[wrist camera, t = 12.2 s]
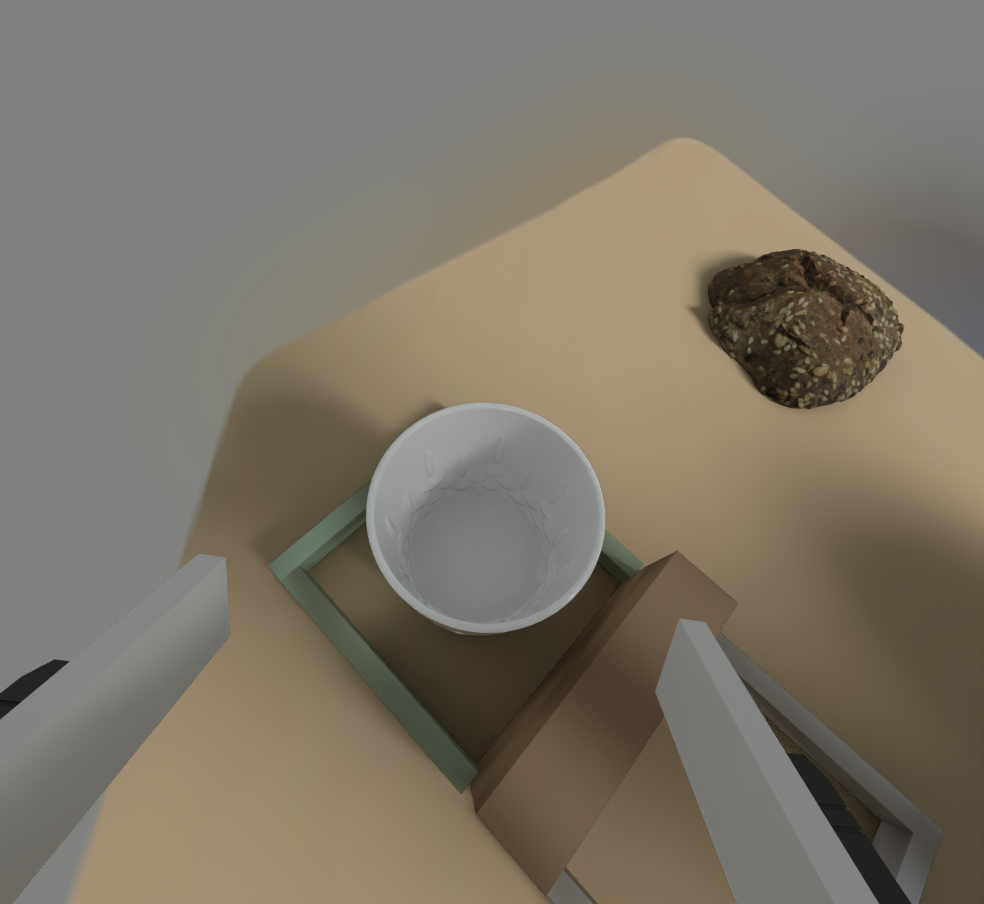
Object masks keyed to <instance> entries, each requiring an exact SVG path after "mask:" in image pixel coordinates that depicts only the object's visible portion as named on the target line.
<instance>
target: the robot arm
mask: <svg viewBox="0 0 984 904" xmlns="http://www.w3.org/2000/svg"><path fill="white" fill-rule="evenodd" d="M229 636H230V624H229V607H228V589H227V572H226V557H219V556H212V555H205V554H198V555H196V556H195V557H194V558H193V559H192V560H191V561H189V562H188V563H187V564H186V565H185V566H183V567H182V568H181V569H180V570H179V571H177V572H176V573H175V574H174V575H173V576H171V577H170V578H169V579H168V580H167V581H165V582H164V583H163V584H162V585H161V586H159V587H158V588H157V589H156V590H155V591H154V592H152V593H151V594H150V595H149V596H147V597H146V598H145V599H144V600H143V601H142V602H140V603H139V604H138V605H137V606H136V607H135V608H133V609H132V610H131V611H130V612H128V613H127V614H126V615H125V616H124V617H122V618H121V619H120V620H119V621H118V622H116V623H115V624H114V625H113V626H112V627H110V628H109V629H108V630H107V631H106V632H105V633H103V634H102V635H101V636H100V637H99V638H97V639H96V640H95V641H94V642H93V643H91V644H90V645H89V646H88V647H87V648H85V649H84V650H83V651H82V652H81V653H79V654H78V655H77V656H76V657H75V658H73V659H72V660H71V661H70V662H69V661H62V660H55V659H54V660H53V661H51V662H49V663H47V664H45V665H43V666H41V667H39V668H37V669H35V670H33V671H32V672H30V673H28V674H26V675H24V676H22V677H21V678H19V679H18V680H17V681H15V682H14V683H13V684H12V685H10V686H9V687H8V688H6V689H5V690H4V691H3V692H1V693H0V904H12V903H13V902H14V901H15V900H16V899H17V897H18V896H19V895H20V894H21V893H22V891H23V890H24V889H25V888H26V886H27V885H28V884H29V883H30V881H31V880H32V879H33V878H34V876H35V875H36V874H37V873H38V872H39V870H40V869H41V868H42V867H43V865H44V864H45V863H46V862H47V860H48V859H49V858H50V857H51V856H52V854H53V853H54V852H55V850H56V849H57V848H58V847H59V846H60V845H61V843H62V842H63V841H64V840H65V838H66V837H67V836H68V835H69V833H70V832H71V831H72V829H74V827H75V826H76V824H78V822H79V821H80V820H81V819H82V817H83V816H84V815H85V814H86V812H87V811H88V810H89V808H91V806H92V805H93V804H94V803H95V801H96V800H97V799H98V798H99V796H100V795H101V794H102V793H103V792H104V790H105V789H106V788H107V787H108V785H109V784H110V783H111V782H112V780H113V779H114V778H115V777H116V776H117V774H118V773H119V772H120V771H121V769H122V768H123V767H124V766H125V764H126V763H127V762H128V761H129V760H130V758H131V757H132V756H133V755H134V753H135V752H136V751H137V750H138V748H139V747H140V746H141V745H142V744H143V742H144V741H145V740H146V739H147V737H148V736H149V735H150V734H151V732H152V731H153V730H154V729H155V728H156V726H157V725H158V724H159V723H160V721H161V720H162V719H163V718H164V716H165V715H166V714H167V713H168V712H169V710H170V709H171V708H172V707H173V705H174V704H175V703H176V702H177V700H178V699H179V698H180V697H181V696H182V694H183V693H184V692H185V691H186V689H187V688H188V687H189V686H190V684H191V683H192V682H193V681H194V680H195V678H196V677H197V676H198V675H199V673H200V672H201V671H202V670H203V668H204V667H205V666H206V665H207V664H208V662H209V661H210V660H211V659H212V657H213V656H214V655H215V654H216V652H217V651H218V650H219V649H220V648H221V646H222V645H223V644H224V643H225V641H226V640H227V639H228V638H229ZM655 693H656V695H657V698H658V700H659V703H660V706H661V708H662V711H663V714H664V716H665V719H666V721H667V724H668V727H669V729H670V732H671V735H672V737H673V740H674V742H675V745H676V748H677V750H678V753H679V756H680V758H681V761H682V763H683V766H684V769H685V771H686V774H687V777H688V779H689V782H690V784H691V787H692V790H693V792H694V795H695V797H696V800H697V803H698V805H699V808H700V811H701V813H702V816H703V818H704V821H705V824H706V826H707V829H708V832H709V834H710V837H711V839H712V842H713V845H714V847H715V850H716V853H717V855H718V858H719V860H720V863H721V866H722V868H723V871H724V874H725V876H726V879H727V881H728V884H729V887H730V889H731V892H732V895H733V897H734V900H735V902H736V904H911V902H910V901H909V899H908V898H907V896H906V895H905V893H904V892H903V890H902V889H901V887H900V886H899V884H898V883H897V881H896V880H895V878H894V877H893V875H892V874H891V872H890V871H889V869H888V868H887V866H886V865H885V863H884V862H883V860H882V859H881V857H880V856H879V854H878V853H877V851H876V850H875V848H874V847H873V845H872V844H871V842H870V841H869V839H868V838H867V836H866V835H864V834H862V832H861V827H860V826H859V825H858V823H857V822H856V820H855V819H854V817H853V816H852V814H851V813H850V811H847V810H846V805H845V804H844V802H843V801H842V799H841V798H840V796H839V795H838V793H837V792H836V790H835V789H834V787H833V786H832V784H831V783H830V781H829V780H828V779H827V778H826V777H825V776H824V775H823V774H822V773H821V772H820V771H819V770H818V769H817V768H816V767H815V766H814V765H813V764H812V763H811V762H810V761H809V760H808V759H807V758H806V757H805V756H804V755H799V754H791V753H786V752H785V751H784V749H783V747H782V746H781V744H780V742H779V741H778V739H777V738H776V736H775V734H774V733H773V731H772V730H771V728H770V726H769V725H768V723H767V721H766V720H765V718H764V717H763V715H762V713H761V712H760V710H759V708H758V707H757V705H756V704H755V702H754V700H753V699H752V697H751V695H750V694H749V692H748V691H747V689H746V687H745V686H744V684H743V683H742V681H741V679H740V678H739V676H738V674H737V673H736V671H735V670H734V668H733V666H732V665H731V663H730V661H729V660H728V658H727V657H726V655H725V653H724V652H723V650H722V648H721V647H720V645H719V644H718V642H717V640H716V639H715V637H714V636H713V634H712V632H711V631H710V629H709V627H708V626H707V624H706V623H705V622H702V621H694V620H687V619H679V621H678V624H677V627H676V630H675V633H674V636H673V639H672V642H671V645H670V648H669V651H668V654H667V657H666V660H665V663H664V666H663V669H662V672H661V675H660V678H659V681H658V684H657V687H656V690H655Z"/></svg>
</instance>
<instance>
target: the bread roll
mask: <svg viewBox="0 0 984 904" xmlns="http://www.w3.org/2000/svg"><path fill="white" fill-rule="evenodd" d="M885 294H886V293H884V292H883V291H881V290H880V286H878V285H875V284H873V283H871V281H869V280H868V279H865V277H864V276H863V275H860V274H859V273H858V272H856V271H852V270H851V269H850V268H849V267H846V266H845V265H842V264H839V263H837V262H836V261H835V260H832V259H831V258H829V257H826V256H825V255H819V254H817V253H816V252H808V251H807V250H802V249H792V250H787V251H781V252H777V251H776V252H771V253H769V254H765V255H762V256H761V257H759V258H758V259H756V260H754V262H752V263H748V264H747V263H745V264H743V265H739V266H738V267H732V268H727V269H725V270H723V271H722V272H719V273H718V274H716V275H715V277H714V279H713V281H712V282H711V284H710V287H709V301H710V304H711V306H712V307H713V308H714V309H712V310H711V313H710V316H709V322H710V327H711V329H712V333H713V334H714V335H715V336H716V337H717V338H718V339H719V341H720V343H721V345H722V348H723V350H724V351H726V352H727V353H728V354H729V356H730V357H731V358H733V359H735V360H736V361H737V362H738V363H739V364H740V365H741V366H743V367H744V368H745V370H746V371H747V372H748V373H749V374H750V375H751V377H752V378H753V381H754V383H755V385H756V387H757V388H758V390H759V391H760V392H761V394H763V395H765V394H766V395H767V396H769V397H772V398H773V399H774V400H775V401H777V402H778V403H780V404H783V405H785V406H787V407H790V408H798V409H803V408H806V409H811V408H815V407H819V406H824V405H830V404H833V403H835V402H837V401H840V402H842V401H843V400H847V399H849V398H852V397H853V396H854V395H855V394H856V393H857V392H861V391H862V390H863V389H864V388H865V386H866V385H867V384H868V383H870V382H872V381H873V380H874V378H875V377H876V376H877V374H878V373H880V372H881V371H882V370H883V369H884V368H885V366H886V364H887V363H888V362H889V360H891V359H892V356H893V353H894V352H896V351H898V350H899V349H900V347H901V344H902V342H901V335H902V333H903V330H904V325H903V324H901V323H899V320H898V317H899V316H898V315H897V311H896V310H895V308H894V307H893V305H892V304H893V302H892V301H891V300H890V299H889V298H888V297H887V296H885Z"/></svg>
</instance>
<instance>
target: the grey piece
mask: <svg viewBox="0 0 984 904" xmlns="http://www.w3.org/2000/svg"><path fill="white" fill-rule="evenodd" d="M371 481H372V480H370V481H369V482H368V483H367V484H365V485H364V486H363V487H362V488H361V489H359V490H358V491H357V492H356V493H355V494H353V495H352V496H351V497H350V498H349V499H347V500H346V501H345V502H344V503H343V504H341V505H340V506H339V507H338V508H337V509H335V510H334V511H333V512H332V513H330V514H329V515H328V516H327V517H326V518H324V519H323V520H322V521H321V522H320V523H318V524H317V525H316V526H315V527H314V528H312V529H311V530H310V531H309V532H308V533H306V534H305V535H304V536H303V537H302V538H300V539H299V540H298V541H297V542H296V543H294V544H293V545H292V546H291V547H289V548H288V549H287V550H286V551H285V552H283V553H282V554H281V555H280V556H279V557H277V558H276V559H275V560H274V561H273V562H271V563H270V564H269V565H268V568H269V569H270V570H271V571H272V572H273V573H274V575H275V576H276V577H277V578H278V579H279V581H280V582H281V583H282V584H283V585H284V586H285V588H286V589H287V590H288V591H289V592H290V593H291V595H292V596H293V597H294V598H295V599H296V601H297V602H298V603H299V604H300V605H301V606H302V608H303V609H304V610H305V611H306V612H307V613H308V615H309V616H310V617H311V618H312V619H313V621H314V622H315V623H316V624H317V625H318V626H319V628H320V629H321V630H322V631H323V632H324V633H325V635H326V636H327V637H328V638H329V639H330V641H331V642H332V643H333V644H334V645H335V646H336V648H337V649H338V650H339V651H340V652H341V653H342V655H343V656H344V657H345V658H346V659H347V661H348V662H349V663H350V664H351V665H352V666H353V668H354V669H355V670H356V671H357V672H358V674H359V675H360V676H361V677H362V678H363V679H364V681H365V682H366V683H367V684H368V685H369V686H370V688H371V689H372V690H373V691H374V692H375V694H376V695H377V696H378V697H379V698H380V699H381V701H382V702H383V703H384V704H385V705H386V706H387V708H388V709H389V710H390V711H391V712H392V714H393V715H394V716H395V717H396V718H397V719H398V721H399V722H400V723H401V724H402V725H403V726H404V728H405V729H406V730H407V731H408V732H409V734H410V735H411V736H412V737H413V738H414V739H415V741H416V742H417V743H418V744H419V745H420V746H421V748H422V749H423V750H424V751H425V752H426V754H427V755H428V756H429V757H430V758H431V759H432V761H433V762H434V763H435V764H436V765H437V766H438V768H439V769H440V770H441V771H442V772H443V774H444V775H445V776H446V777H447V778H448V779H449V781H450V782H451V783H452V784H453V785H454V786H455V788H456V789H457V790H458V791H459V792H460V794H462V793H463V791H464V790H465V789H466V788H467V786H468V785H469V784H470V786H471V791H472V797H473V802H474V807H475V812H476V815H477V816H478V817H479V819H480V820H481V821H482V822H483V823H484V824H485V826H486V827H487V828H488V829H489V830H490V831H491V833H492V834H493V835H494V836H495V837H496V839H497V840H498V841H499V842H500V843H501V844H502V846H503V847H504V848H505V849H506V850H507V852H508V853H509V854H510V855H511V856H512V857H513V859H514V860H515V861H516V862H517V863H518V865H519V866H520V867H521V868H522V869H523V870H524V872H525V873H526V874H527V875H528V876H529V877H530V879H531V880H532V881H533V882H534V883H535V885H536V886H537V887H538V888H539V889H540V890H541V892H542V893H543V894H544V895H545V896H548V897H549V898H550V899H551V901H552V902H553V903H554V904H597V902H596V901H595V900H594V899H593V898H592V897H591V896H590V894H589V893H588V892H587V891H586V890H585V889H584V888H583V886H582V885H581V884H580V883H579V882H578V881H577V880H576V878H575V877H574V876H573V875H572V874H571V873H570V872H569V870H568V869H567V868H566V865H567V864H568V862H569V861H570V859H571V858H572V856H573V855H574V853H575V852H576V850H577V848H578V847H579V845H580V844H581V842H582V841H583V839H584V838H585V836H586V835H587V833H588V832H589V830H590V829H591V827H592V826H593V824H594V822H595V821H596V819H597V818H598V816H599V815H600V813H601V812H602V810H603V809H604V807H605V806H606V804H607V803H608V801H609V800H610V798H611V797H612V795H613V793H614V792H615V790H616V789H617V787H618V786H619V784H620V783H621V781H622V780H623V778H624V777H625V775H626V774H627V772H628V771H629V769H630V768H631V766H632V764H633V763H634V761H635V760H636V758H637V757H638V755H639V754H640V752H641V751H642V749H643V748H644V746H645V745H646V743H647V742H648V740H649V739H650V737H651V735H652V734H653V732H654V731H655V729H656V728H657V726H658V725H659V723H660V722H661V720H662V719H663V717H664V714H663V711H662V708H661V706H660V703H659V700H658V698H657V695H656V693H655V690H656V687H657V684H658V681H659V678H660V675H661V672H662V669H663V666H664V663H665V660H666V657H667V654H668V651H669V648H670V645H671V642H672V639H673V636H674V633H675V630H676V627H677V624H678V621H679V619H687V620H694V621H702V622H705V623H706V624H707V626H708V627H709V629H710V631H711V632H712V634H713V636H714V637H715V639H716V640H717V642H718V644H719V645H720V647H721V648H722V650H723V652H724V653H725V655H726V657H727V658H728V660H729V661H730V663H731V665H732V666H733V668H734V670H735V671H736V673H737V674H738V676H739V678H740V679H741V681H742V683H743V684H744V686H745V687H746V689H747V691H748V692H749V694H750V695H751V697H752V699H753V700H754V702H755V704H756V705H757V707H758V708H759V710H760V711H761V712H762V713H763V714H764V715H765V716H767V717H768V718H769V719H770V720H771V721H772V722H773V723H774V724H775V725H776V726H778V727H779V728H780V729H781V730H782V731H783V732H784V733H785V734H786V735H787V736H788V737H790V738H791V739H792V740H793V741H794V742H795V743H796V744H797V745H798V746H799V747H800V748H802V749H803V750H804V751H805V752H806V753H807V754H808V755H809V756H810V757H811V758H813V759H814V760H815V761H816V762H817V763H818V764H819V765H820V766H821V767H822V768H823V769H825V770H826V771H827V772H828V773H829V774H830V775H831V776H832V777H833V778H834V779H836V780H837V781H838V782H839V783H840V784H841V785H842V786H843V787H844V788H845V789H846V790H848V791H849V792H850V793H851V794H852V795H853V796H854V797H855V798H856V799H857V800H859V801H860V802H861V803H862V804H863V805H864V806H865V807H866V808H867V809H868V810H869V811H871V812H872V813H873V814H874V815H875V816H876V817H877V818H878V819H879V820H880V821H881V823H880V825H879V828H878V830H877V833H876V835H875V838H874V840H873V843H872V845H873V847H874V848H875V850H876V851H877V853H878V854H879V856H880V857H881V859H882V860H883V862H884V863H885V865H886V866H887V868H888V869H889V871H890V872H891V874H892V875H893V877H894V878H895V880H896V881H897V883H898V884H899V886H900V887H901V889H902V890H903V892H904V893H905V895H906V896H907V898H908V899H909V901H910V902H911V904H919V901H920V898H921V895H922V892H923V889H924V886H925V883H926V881H927V878H928V875H929V872H930V869H931V866H932V863H933V861H934V858H935V855H936V852H937V849H938V846H939V843H940V841H941V838H942V835H943V832H944V830H943V829H942V828H940V827H939V826H938V825H937V824H936V823H935V822H934V821H932V820H931V819H930V818H929V817H928V816H927V815H926V814H925V813H923V812H922V811H921V810H920V809H919V808H918V807H917V806H916V805H914V804H913V803H912V802H911V801H910V800H909V799H908V798H907V797H905V796H904V795H903V794H902V793H901V792H900V791H899V790H898V789H896V788H895V787H894V786H893V785H892V784H891V783H890V782H889V781H887V780H886V779H885V778H884V777H883V776H882V775H881V774H880V773H878V772H877V771H876V770H875V769H874V768H873V767H872V766H870V765H869V764H868V763H867V762H866V761H865V760H864V759H863V758H861V757H860V756H859V755H858V754H857V753H856V752H855V751H854V750H852V749H851V748H850V747H849V746H848V745H847V744H846V743H845V742H843V741H842V740H841V739H840V738H839V737H838V736H837V735H836V734H834V733H833V732H832V731H831V730H830V729H829V728H828V727H827V726H825V725H824V724H823V723H822V722H821V721H820V720H819V719H818V718H816V717H815V716H814V715H813V714H812V713H811V712H810V711H809V710H807V709H806V708H805V707H804V706H803V705H802V704H801V703H799V702H798V701H797V700H796V699H795V698H794V697H793V696H792V695H790V694H789V693H788V692H787V691H786V690H785V689H784V688H783V687H781V686H780V685H779V684H778V683H777V682H776V681H775V680H774V679H772V678H771V677H770V676H769V675H768V674H767V673H766V672H765V671H763V670H762V669H761V668H760V667H759V666H758V665H757V664H756V663H754V662H753V661H752V660H751V659H750V658H749V657H748V656H747V655H745V654H744V653H743V652H742V651H741V650H740V649H739V648H737V647H736V646H735V645H734V644H733V643H732V642H731V641H730V640H728V639H727V638H726V637H725V636H724V635H723V634H722V633H721V632H720V630H721V629H722V627H723V626H724V624H725V622H726V621H727V619H728V618H729V616H730V615H731V613H732V612H733V610H734V609H735V607H736V606H737V604H738V603H737V602H736V601H735V600H734V599H733V598H732V597H730V596H729V595H728V594H727V593H726V592H725V591H723V590H722V589H721V588H720V587H719V586H718V585H716V584H715V583H714V582H713V581H712V580H711V579H709V578H708V577H707V576H706V575H705V574H704V573H702V572H701V571H700V570H699V569H698V568H697V567H695V566H694V565H693V564H692V563H691V562H690V561H689V560H687V559H686V558H685V557H684V556H683V555H682V554H680V553H679V552H678V551H676V552H674V553H672V554H670V555H668V556H666V557H664V558H662V559H660V560H658V561H656V562H654V563H652V564H650V565H648V566H646V567H644V568H642V569H640V570H639V568H640V567H641V566H642V565H643V563H642V562H641V561H639V560H638V559H637V558H636V557H635V556H634V555H633V554H632V553H630V552H629V551H628V550H627V549H626V548H625V547H624V546H623V545H621V544H620V543H619V542H618V541H617V540H616V539H615V538H614V537H612V536H611V535H610V534H609V533H608V532H607V531H606V530H605V534H604V540H603V545H602V549H601V552H600V556H599V558H598V561H597V562H598V563H599V564H600V565H601V566H602V567H603V568H605V569H606V570H607V571H608V572H609V573H610V574H611V575H612V576H613V577H614V578H615V579H617V580H618V581H619V582H620V583H621V584H620V585H619V586H618V588H617V589H616V590H615V592H614V593H613V594H612V595H611V597H610V598H609V599H608V600H607V602H606V603H605V604H604V605H603V607H602V608H601V609H600V610H599V612H598V613H597V614H596V615H595V617H594V618H593V619H592V620H591V622H590V623H589V624H588V625H587V627H586V628H585V629H584V630H583V632H582V633H581V634H580V635H579V637H578V638H577V639H576V640H575V642H574V643H573V644H572V645H571V647H570V648H569V649H568V650H567V652H566V653H565V654H564V655H563V657H562V658H561V659H560V661H559V662H558V663H557V664H556V666H555V667H554V668H553V669H552V671H551V672H550V673H549V674H548V676H547V677H546V678H545V679H544V681H543V682H542V683H541V684H540V686H539V687H538V688H537V689H536V691H535V692H534V693H533V694H532V696H531V697H530V698H529V699H528V701H527V702H526V703H525V704H524V706H523V707H522V708H521V709H520V711H519V712H518V713H517V714H516V716H515V717H514V718H513V719H512V721H511V722H510V723H509V725H508V726H507V727H506V728H505V730H504V731H503V732H502V733H501V735H500V736H499V737H498V738H497V740H496V741H495V742H494V743H493V745H492V746H491V747H490V748H489V750H488V751H487V752H486V753H485V755H484V756H483V757H482V758H481V760H480V761H479V762H478V763H477V765H476V764H475V763H474V762H473V761H472V760H471V759H470V757H469V756H468V755H467V754H466V753H465V752H464V751H463V749H462V748H461V747H460V746H459V745H458V744H457V743H456V741H455V740H454V739H453V738H452V737H451V736H450V735H449V733H448V732H447V731H446V730H445V729H444V728H443V727H442V725H441V724H440V723H439V722H438V721H437V720H436V719H435V717H434V716H433V715H432V714H431V713H430V712H429V711H428V709H427V708H426V707H425V706H424V705H423V704H422V703H421V701H420V700H419V699H418V698H417V697H416V696H415V695H414V693H413V692H412V691H411V690H410V689H409V688H408V687H407V685H406V684H405V683H404V682H403V681H402V680H401V679H400V677H399V676H398V675H397V674H396V673H395V672H394V671H393V669H392V668H391V667H390V666H389V665H388V664H387V663H386V661H385V660H384V659H383V658H382V657H381V656H380V655H379V653H378V652H377V651H376V650H375V649H374V648H373V647H372V645H371V644H370V643H369V642H368V641H367V640H366V639H365V637H364V636H363V635H362V634H361V633H360V632H359V631H358V629H357V628H356V627H355V626H354V625H353V624H352V623H351V621H350V620H349V619H348V618H347V617H346V616H345V615H344V613H343V612H342V611H341V610H340V609H339V608H338V607H337V605H336V604H335V603H334V602H333V601H332V600H331V599H330V597H329V596H328V595H327V594H326V593H325V592H324V591H323V589H322V588H321V587H320V586H319V585H318V584H317V583H316V581H315V580H314V579H313V578H312V577H311V576H310V575H309V573H308V571H309V570H311V569H312V568H313V567H314V566H315V565H316V564H317V563H319V562H320V561H321V560H322V559H323V558H324V557H326V556H327V555H328V554H329V553H330V552H331V551H332V550H334V549H335V548H336V547H337V546H338V545H339V544H341V543H342V542H343V541H344V540H345V539H346V538H347V537H349V536H350V535H351V534H352V533H353V532H354V531H356V530H357V529H358V528H359V527H360V526H361V525H362V524H364V523H365V522H366V505H367V497H368V492H369V488H370V484H371Z"/></svg>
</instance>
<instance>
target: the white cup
mask: <svg viewBox="0 0 984 904" xmlns="http://www.w3.org/2000/svg"><path fill="white" fill-rule="evenodd" d="M366 526H367V533H368V539H369V543H370V546H371V550H372V553H373V555H374V558H375V560H376V562H377V565H378V567H379V568H380V570H381V572H382V574H383V575H384V577H385V579H386V580H387V581H388V583H389V584H390V585H391V587H392V588H393V589H394V590H395V591H396V593H397V594H398V595H399V596H400V597H401V598H402V599H403V600H404V601H406V602H407V603H408V604H409V605H410V606H412V607H413V608H414V609H415V610H416V611H417V612H418V613H419V614H420V615H422V616H423V617H424V618H426V619H427V620H429V621H430V622H432V623H434V624H436V625H437V626H439V627H441V628H444V629H446V630H449V631H452V632H455V633H458V634H464V635H475V636H482V635H494V634H500V633H504V632H507V631H513V630H517V629H521V628H525V627H528V626H531V625H533V624H536V623H538V622H540V621H542V620H544V619H546V618H548V617H550V616H551V615H553V614H554V613H556V612H557V611H559V610H560V609H561V608H563V607H564V606H565V605H566V604H568V603H569V602H570V601H571V600H572V599H573V598H574V597H575V596H576V595H577V594H578V592H579V591H580V590H581V589H582V587H583V586H584V585H585V583H586V582H587V580H588V579H589V577H590V575H591V574H592V572H593V570H594V568H595V566H596V563H597V561H598V558H599V556H600V552H601V549H602V545H603V540H604V534H605V507H604V500H603V495H602V491H601V488H600V485H599V482H598V479H597V477H596V474H595V472H594V470H593V468H592V466H591V464H590V463H589V461H588V459H587V458H586V456H585V455H584V453H583V452H582V451H581V449H580V448H579V447H578V446H577V445H576V443H575V442H574V441H573V440H572V439H571V438H570V437H569V436H568V435H567V434H565V433H564V432H563V431H562V430H561V429H559V428H558V427H557V426H555V425H554V424H552V423H551V422H549V421H548V420H546V419H544V418H543V417H541V416H539V415H537V414H534V413H532V412H530V411H527V410H524V409H522V408H518V407H515V406H511V405H506V404H499V403H488V402H478V403H466V404H460V405H455V406H451V407H448V408H445V409H442V410H439V411H437V412H434V413H432V414H430V415H428V416H426V417H424V418H422V419H421V420H419V421H417V422H416V423H414V424H413V425H412V426H410V427H409V428H408V429H407V430H405V431H404V432H403V433H402V434H401V435H400V436H399V437H398V438H397V439H396V440H395V441H394V442H393V443H392V444H391V446H390V447H389V448H388V450H387V451H386V452H385V454H384V455H383V457H382V459H381V460H380V462H379V464H378V466H377V468H376V470H375V473H374V475H373V478H372V481H371V484H370V488H369V492H368V497H367V505H366Z"/></svg>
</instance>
